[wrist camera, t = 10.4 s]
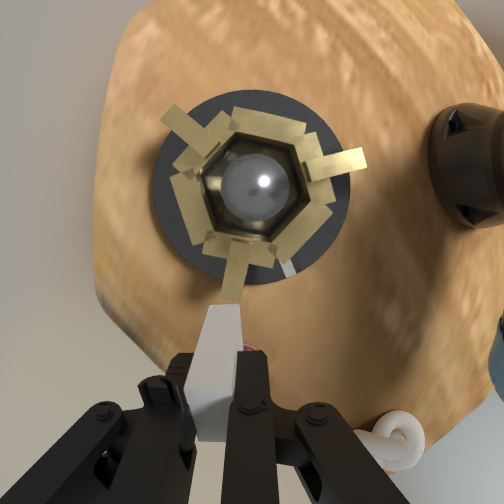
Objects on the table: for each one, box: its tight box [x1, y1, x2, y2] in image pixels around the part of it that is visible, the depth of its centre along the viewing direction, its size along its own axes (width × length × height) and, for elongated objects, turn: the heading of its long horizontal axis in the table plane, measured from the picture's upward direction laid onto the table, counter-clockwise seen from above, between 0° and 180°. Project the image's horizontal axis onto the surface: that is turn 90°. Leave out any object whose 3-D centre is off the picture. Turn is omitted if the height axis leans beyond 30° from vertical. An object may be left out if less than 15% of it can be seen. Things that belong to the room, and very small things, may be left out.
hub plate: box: [153, 90, 350, 285], centre depth 25 cm, size 18×18×2 cm
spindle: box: [221, 154, 289, 222], centre depth 23 cm, size 5×5×8 cm
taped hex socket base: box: [160, 104, 367, 302], centre depth 23 cm, size 15×16×4 cm
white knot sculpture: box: [353, 410, 425, 472], centre depth 31 cm, size 11×12×9 cm
